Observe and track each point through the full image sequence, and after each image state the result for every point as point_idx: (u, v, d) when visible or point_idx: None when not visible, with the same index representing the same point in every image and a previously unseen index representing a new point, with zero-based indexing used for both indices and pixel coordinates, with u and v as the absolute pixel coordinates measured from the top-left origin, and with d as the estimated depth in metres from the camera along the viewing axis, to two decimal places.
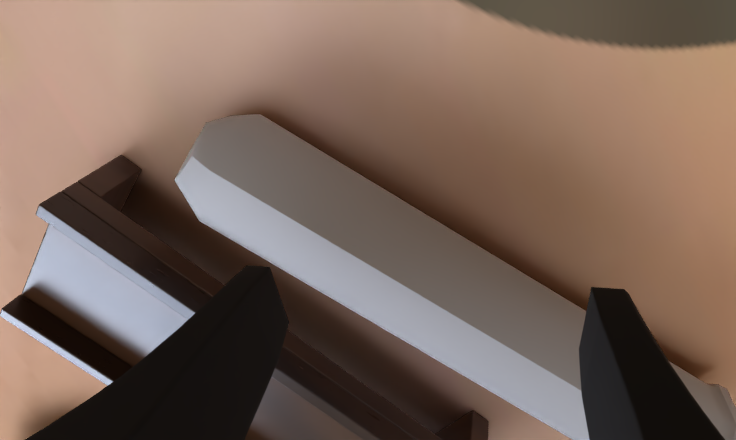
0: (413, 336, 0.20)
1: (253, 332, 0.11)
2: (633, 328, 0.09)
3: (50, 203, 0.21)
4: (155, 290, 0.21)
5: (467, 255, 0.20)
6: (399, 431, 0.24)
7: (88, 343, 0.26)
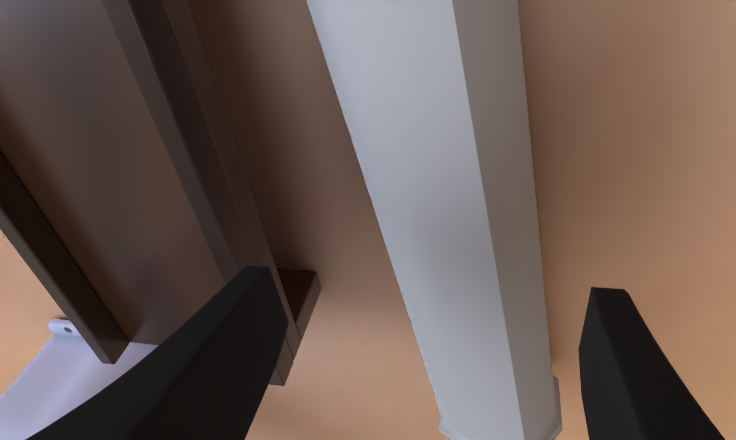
0: (407, 196, 0.13)
1: (253, 332, 0.11)
2: (633, 328, 0.09)
3: None
4: None
5: (530, 145, 0.14)
6: None
7: None
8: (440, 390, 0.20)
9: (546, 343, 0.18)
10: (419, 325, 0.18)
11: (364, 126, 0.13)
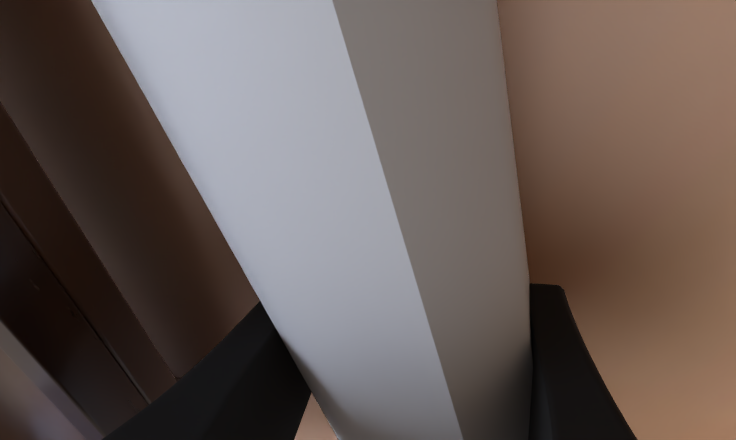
0: (342, 404, 0.09)
1: None
2: (560, 322, 0.09)
3: None
4: None
5: (529, 311, 0.10)
6: None
7: None
8: None
9: None
10: None
11: (273, 304, 0.08)
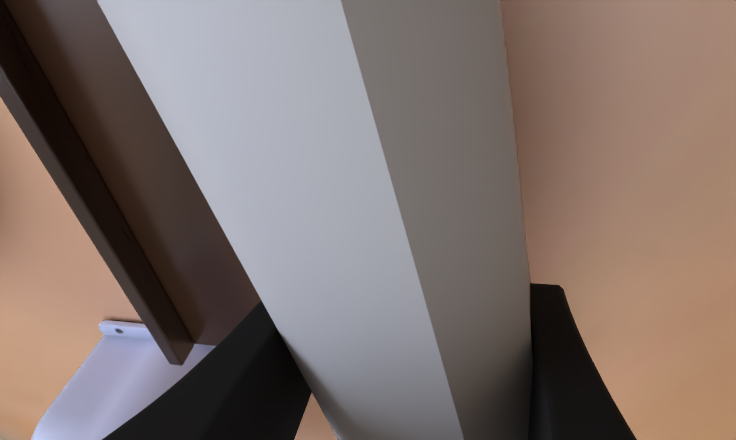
0: (343, 404, 0.09)
1: None
2: (560, 322, 0.09)
3: None
4: None
5: None
6: None
7: None
8: None
9: None
10: None
11: (275, 304, 0.08)
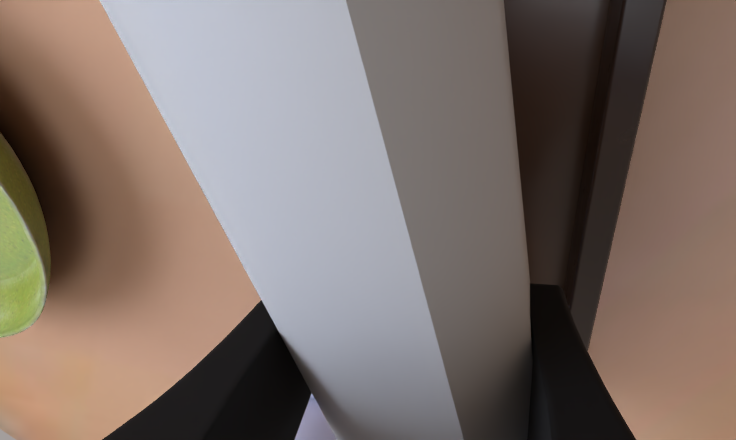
0: (343, 404, 0.09)
1: None
2: (559, 322, 0.09)
3: None
4: None
5: None
6: None
7: None
8: None
9: None
10: None
11: (275, 304, 0.08)
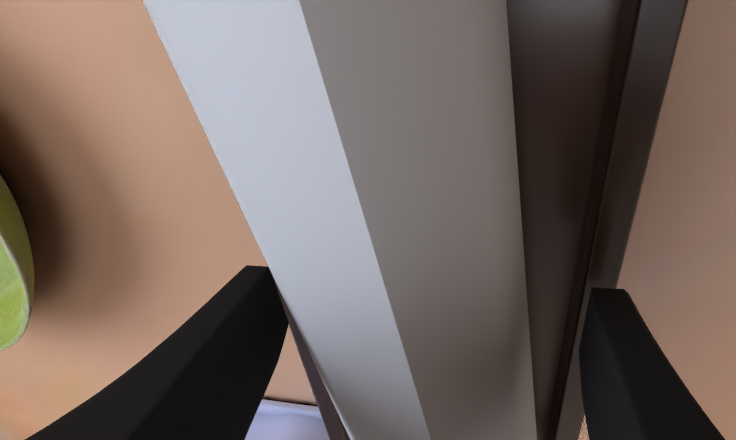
0: (320, 361, 0.10)
1: (252, 332, 0.11)
2: (633, 328, 0.09)
3: None
4: None
5: (513, 308, 0.10)
6: None
7: None
8: None
9: None
10: None
11: (269, 262, 0.09)
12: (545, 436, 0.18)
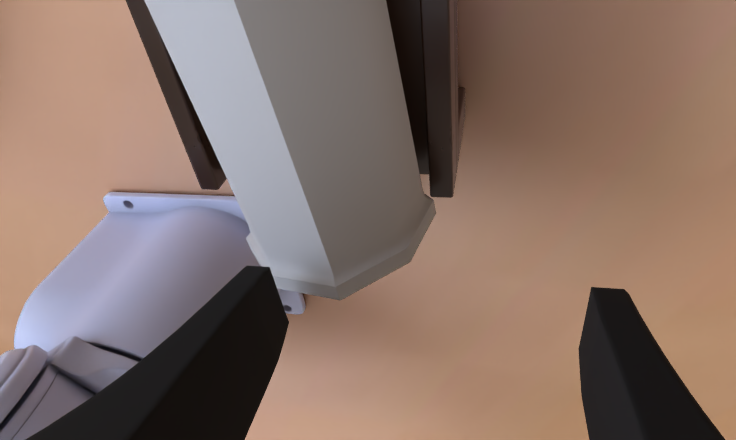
0: None
1: (252, 332, 0.11)
2: (633, 328, 0.09)
3: None
4: None
5: None
6: None
7: None
8: (218, 157, 0.13)
9: (349, 56, 0.10)
10: (146, 1, 0.11)
11: None
12: None
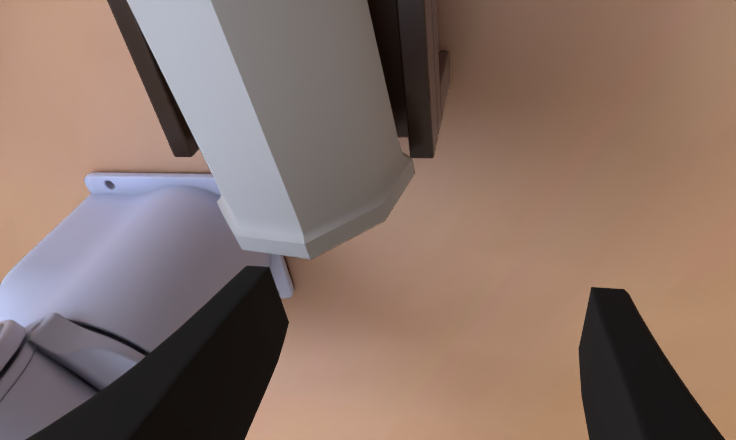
0: None
1: (252, 332, 0.11)
2: (633, 328, 0.09)
3: None
4: None
5: None
6: None
7: None
8: (181, 110, 0.12)
9: None
10: None
11: None
12: None
